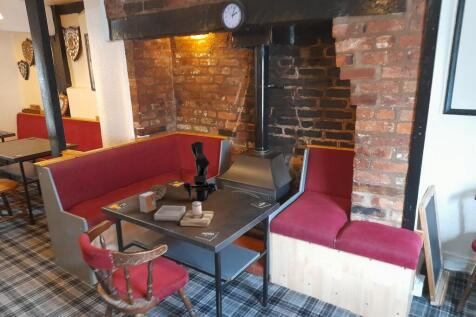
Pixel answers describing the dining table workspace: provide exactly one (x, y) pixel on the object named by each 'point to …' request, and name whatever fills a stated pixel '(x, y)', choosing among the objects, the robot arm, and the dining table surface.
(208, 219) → the socket block
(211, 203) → the dining table surface
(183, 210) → the tray
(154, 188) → the pine cone
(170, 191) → the dining table surface
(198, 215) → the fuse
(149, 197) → the small box
